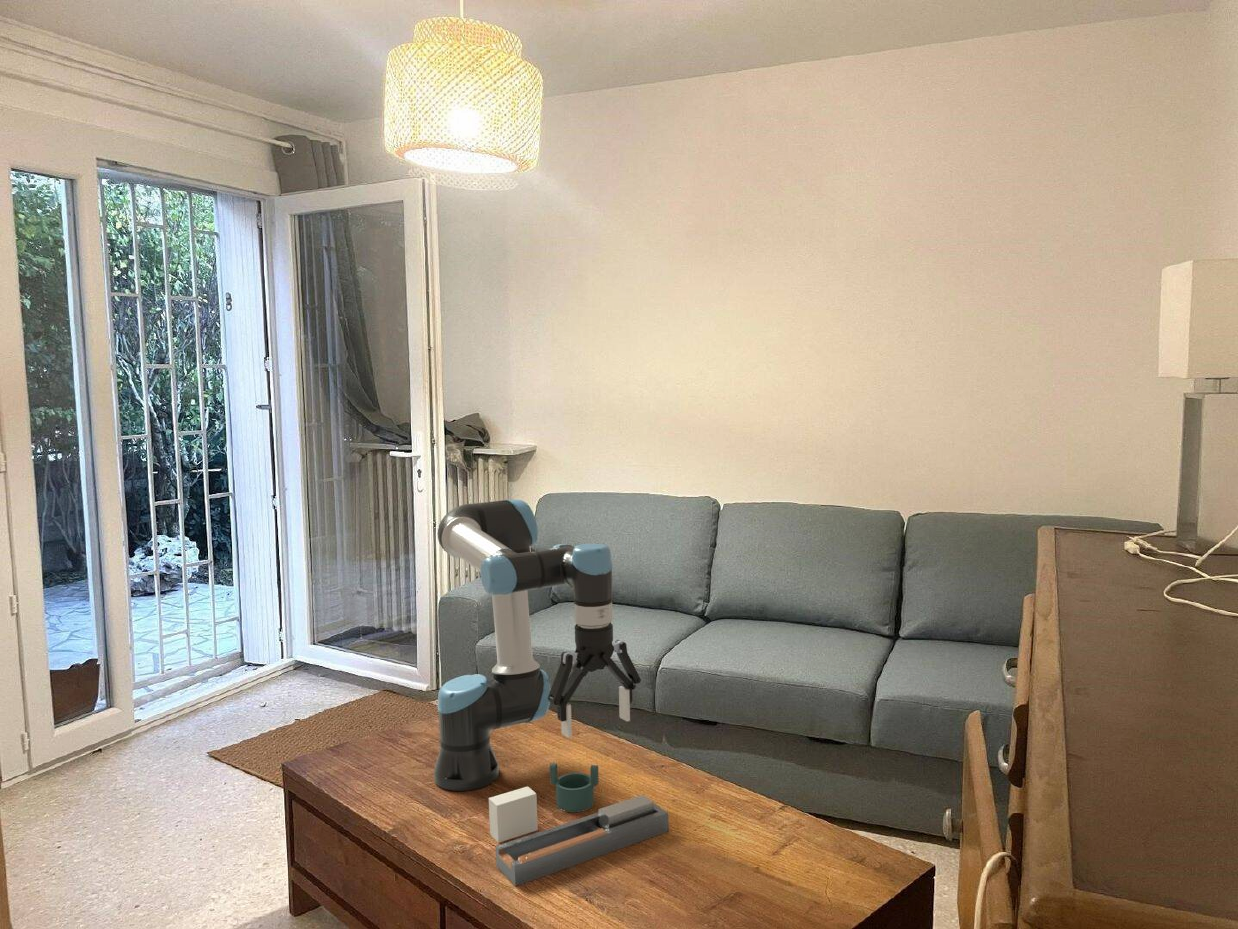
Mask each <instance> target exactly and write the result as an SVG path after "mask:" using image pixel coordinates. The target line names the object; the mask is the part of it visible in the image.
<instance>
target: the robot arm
mask: <svg viewBox="0 0 1238 929" xmlns="http://www.w3.org/2000/svg"><path fill="white" fill-rule="evenodd" d="M538 537H539V532H538V525H537V520H536V517H535V514H534V512H533V510H532V508H531V506H530V505H529V504H528V503H527V502H526V501H524V500H522V499H504V500H503V499H502V500H495V501H486V502H477V503H465V504H461V505H458V506H456V507H454V508H452V509H451V510H450V511H448V512H447V513H446V514H445V515H444V516H443V518H442V519H441V520H440V523H439V525H438V528H437V540H438V543H439V545H440V547H441V548H442V550H443V551H444V552H446V553H447V554H448V555H449V556H451V557H453V558H457V559H462V560H463V561H464V562H466V563H467V564H469V565H470V566H472V568H474V569H475V570H477V571H478V572H479V573H480V580H481V584H482V586H483V588H484V591H485V592H486V593H487V594H489V595H491V598H492V600H491V601H492V611H493V624H494V635H495V648H496V650H495V651H496V658H497V660H496V661H497V662H496V664H495V665H494V667H492V669H491V676H492V678H490V679H487V677H486V676H485V675H483V674H465V675H461V676H457V677H455V678H452V679H450V680H448V681H446V682H445V683H444V684H443V685H442V686H441V687H440V688H439V690H438V696H437V697H438V698H437V712H438V722H439V723H438V726H439V743H440V744H439V746H440V748H439V753H438V755H437V759H436V762H435V765H434V770H433V779H434V783H435V784H436V786H438V787H439V788H441V789H444V790H448V791H454V792H456V791H457V792H460V791H461V792H462V791H463V792H465V791H472V790H477V789H481V788H484V787H487V786H489V785H491V784H492V783H493V782H495V781H496V780H497V779H498V777H499V774H500V772H499V763H498V760H497V757H496V754H495V751H494V749H493V746H492V744H491V739H490V738H491V737H490V736H491V731H493V730H498V729H502V728H507V727H512V726H517V725H521V724H529V723H531V722H533V721H536V720H540V719H543V718H544V717H545V716H546V714H547V712H548V711H549V708H550V705H551V704H553V705H555V706H557V707H556V708H557V709H556V710H557V711H556V712H557V719H558V720H559V721H560V723H561V726H560V729H561V734H562V735H563V736H564V737H566V738H568V739H572V738H573V730H572V728H573V727H572V725H573V723H572V705H571V704H570V703H569V701H570V700H571V699H572V697H573V696H574V693H575V692H576V690H577V688H578V687H579V685H580V683H581V682H582V680H583V678H585V677H586V676H587V674H588V673H589V672H590V673H593V672H595V671H598V670H604V669H605V668H606V669H607V670H609V672H610V673H611V674H612V675H613V676H614V677H615V679H617V680H618V681H619V682H620V684H622V685H621V686H618V709H619V712H618V714H619V715H618V716H619V718H620V719H622V720H623V721H625V722H626V723H627V722H630V721H631V706H630V704H632V702H633V691H634V690H636V685H637V684H640V683H641V677H640V675H639V673H638V671H637V668H636V667H635V665H634V663H633V661H632V659H631V657H630V655H629V653H628V646H627V642H624V641H622V640H619V639H616V640H615V641H614V624H612V622H613V571H612V570H613V561H612V554H611V548H610V547H609V546H608V545H606V544H602V543H597V542H596V543H595V542H594V543H593V542H592V543H583V544H577V545H576V546H574V545H572V544H566V543H557V544H556V545H553V546H552V547H551V548H549V549H544V550H536V551H531V547H533V546H534V545H535V544H536V543H537V541H538ZM566 585H567V586H569V587H571V588H572V589H573V611H574V612H573V616H574V617H573V620H574V623H575V625H574V642H575V650H574V652H566V651H562V652H561V654H560V663H559V667H558V669H557V673H556V675H555V677H554V681H553V683H552V685H551V683H550V682H549V680H550V679H549V676H548V674H547V673H546V671H544V669H541V667H540V664H539V662H537V660H535V659H534V656H533V655H534V654H533V645H532V634H531V633H532V631H531V622H530V608H529V597H528V596H529V595H528V591H532V590H538V589H548V588H554V587H559V586H566ZM613 641H614V643H613ZM614 653H616V655H617V657H618V659H619V662H620V663H621V665H622V667H623V669H624V671H625V673H624V672H623V671H622V670H621V668H619V666H618V665H617V664H616V662H614V660H613V659H612V656H613V654H614ZM575 661H576V663H575ZM573 665H574V666H573ZM571 671H572V672H571Z"/></svg>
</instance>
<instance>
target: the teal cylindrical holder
mask: <svg viewBox="0 0 1238 929" xmlns="http://www.w3.org/2000/svg"><path fill="white" fill-rule="evenodd" d="M589 769H590V774H587V773H583V772H569V773H566V774H562V775H560V776H559V777H558V763H554V762H553V763H550V765H549V781H550V782H549V783H550V784H551V785H553V786H555V795H556V796H555V800H556V807H557V808H558V809H559V810H560V809H562V810H561V811H563V810H565V811H564V812H566V811H569V812H568V813H579V812H578V811H581V812H584V811H583V810H585V811H587V810H590V809H591V808H592V807H593V806H594V802H595V794H594V792H595V791H594V788H595V787H597V786H598V785H599V783H600V782H599V781H600V778H599V765H596V764H590V768H589ZM592 805H593V806H592ZM586 809H587V810H586Z"/></svg>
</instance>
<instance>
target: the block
mask: <svg viewBox="0 0 1238 929" xmlns="http://www.w3.org/2000/svg"><path fill="white" fill-rule="evenodd" d="M537 802H538V798H537V793H536V792H535V791H534V790H532V788H531V787H529V786H528V785H527V786H524V787H521V788H518V789H514V790H511V791H508V792H505V793H501V794H498V795H495V796H491V797H488V813H489V814H488V815H489V830H490V831H489V834H490V836H491V837H492V838H493V839H494V840H495V841H496V842H497V843H498V844H499V843H503V842H506V841H508V840H509V841H510V840H511V839H514V838H517V837H521V836H523V835H526V834H529V833H532V832H533V833H534V832H535V831H538V829H539V826H538V823H539V822H538V803H537Z"/></svg>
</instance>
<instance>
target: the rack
mask: <svg viewBox="0 0 1238 929" xmlns="http://www.w3.org/2000/svg"><path fill="white" fill-rule="evenodd" d="M669 826H670V825H669V812H668V811H667V810H665V809H664V808H662V807H661V806H659V805H658V804H656V803H655V802H654V800H651V799H650V797H648V796H647V795H644V794H641V795H638V796H635V797H632V798H628V799H626V800H623V801H619V802H617V803H613V804H611V805H607V806H604V807H601V808H599V809H598V812H596V813H592V814H589V815H587V816H586V815H585V816H584V817H581V818H578V819H575V820H572V821H568V822H565V823H562V824H559V825H556V826H553V827H550V828H547V829H543V830H541V831H538V832H535V833H534V832H533V833H532V834H529V835H526V836H523V837H520V838H517V839H514V840H509V841H508V842H505V843H502V844H498V845H495V865H496V867H497V869H499V871H500V872H501V873H502V874H503V875H504V876H505V877H506V878H507V879H508V880H509V881H510V883H511V884H513V885H514V886H515V887H518V886H521V885H523V884H526V883H528V882H532V881H535V880H537V879H540V878H543V877H546V876H548V875H552V874H554V873H557V872H559V871H561V870H564V869H568V868H571V867H573V866H577V865H579V864H581V863H584V862H587V861H590V860H593V859H596V858H598V857H602V856H604V855H607V854H610V853H612V852H614V851H615V852H616V851H618V850H620V849H623V848H626V847H629V846H632V845H634V844H637V843H640V842H643V841H645V840H648V839H652V838H653V837H657V836H660V835H662V834H665V833H668V832H669V829H670V828H669Z"/></svg>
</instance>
